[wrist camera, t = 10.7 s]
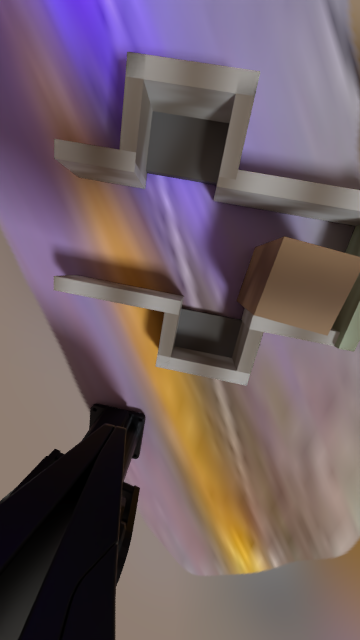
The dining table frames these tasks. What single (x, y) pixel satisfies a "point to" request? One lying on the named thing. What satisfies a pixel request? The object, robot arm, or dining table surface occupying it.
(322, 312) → the block
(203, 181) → the trap lane
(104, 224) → the dining table surface
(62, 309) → the dining table surface
